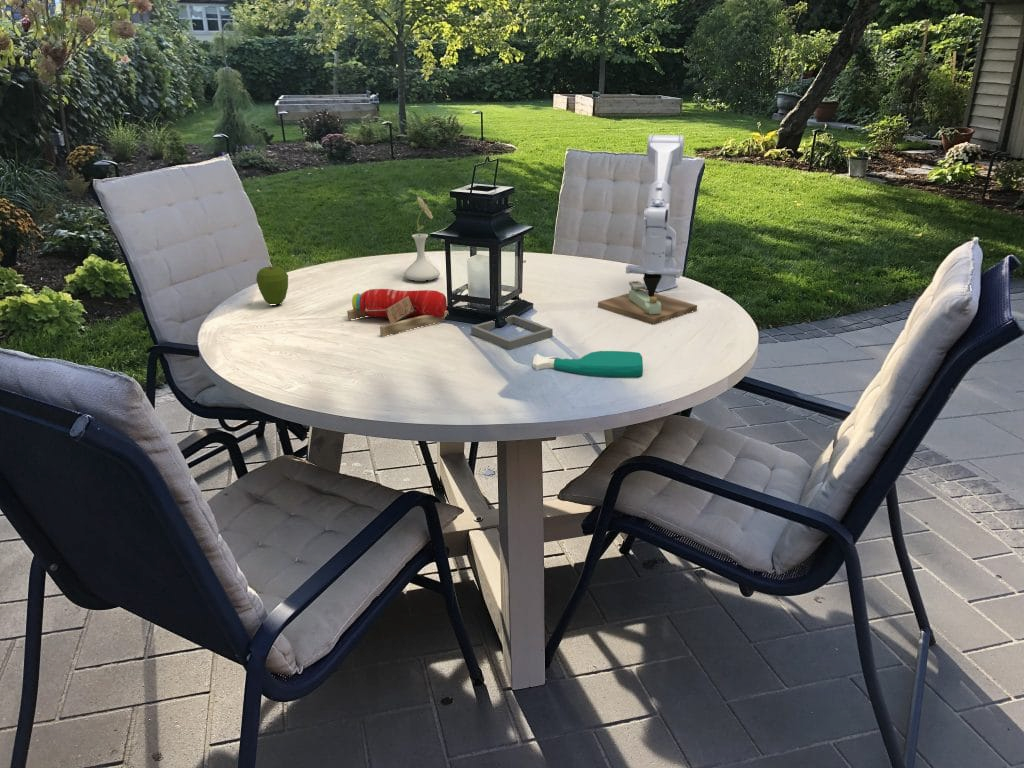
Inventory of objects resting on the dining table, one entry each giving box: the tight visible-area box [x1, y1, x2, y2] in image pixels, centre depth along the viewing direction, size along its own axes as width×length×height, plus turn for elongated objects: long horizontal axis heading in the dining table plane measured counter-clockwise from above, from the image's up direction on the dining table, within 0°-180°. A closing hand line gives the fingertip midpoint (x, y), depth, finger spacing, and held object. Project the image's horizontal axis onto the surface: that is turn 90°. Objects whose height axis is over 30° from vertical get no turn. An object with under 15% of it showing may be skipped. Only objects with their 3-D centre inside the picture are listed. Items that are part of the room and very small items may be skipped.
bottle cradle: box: [346, 308, 449, 337], centre depth 205 cm, size 20×18×2 cm
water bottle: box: [351, 288, 448, 324], centre depth 204 cm, size 12×8×25 cm
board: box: [597, 280, 698, 325], centre depth 212 cm, size 18×20×6 cm
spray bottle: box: [532, 350, 644, 378], centre depth 174 cm, size 3×11×24 cm
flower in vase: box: [403, 196, 441, 282], centre depth 238 cm, size 13×11×25 cm
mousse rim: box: [470, 314, 554, 350], centre depth 194 cm, size 14×15×2 cm
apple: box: [255, 265, 289, 305], centre depth 216 cm, size 9×8×12 cm
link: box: [628, 289, 661, 314], centre depth 210 cm, size 14×4×2 cm, turn 15°
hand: (651, 300), depth 212 cm, fingers closed
